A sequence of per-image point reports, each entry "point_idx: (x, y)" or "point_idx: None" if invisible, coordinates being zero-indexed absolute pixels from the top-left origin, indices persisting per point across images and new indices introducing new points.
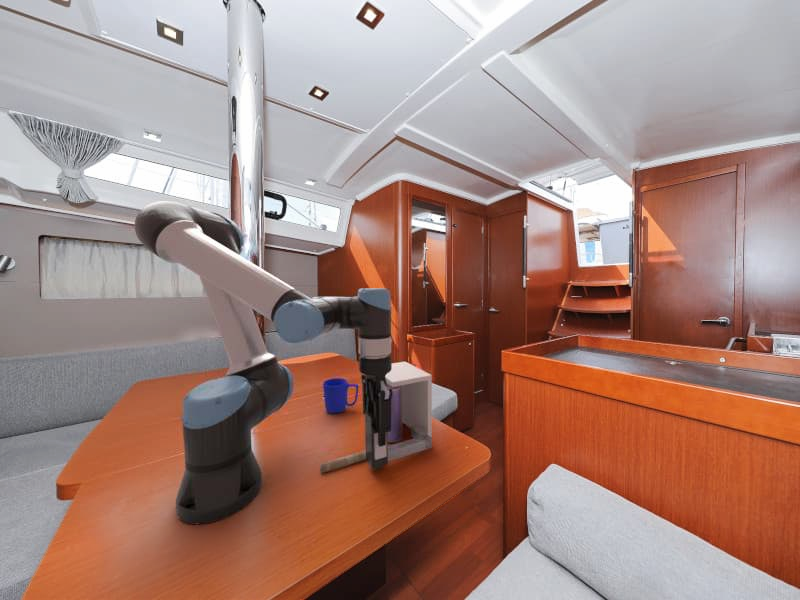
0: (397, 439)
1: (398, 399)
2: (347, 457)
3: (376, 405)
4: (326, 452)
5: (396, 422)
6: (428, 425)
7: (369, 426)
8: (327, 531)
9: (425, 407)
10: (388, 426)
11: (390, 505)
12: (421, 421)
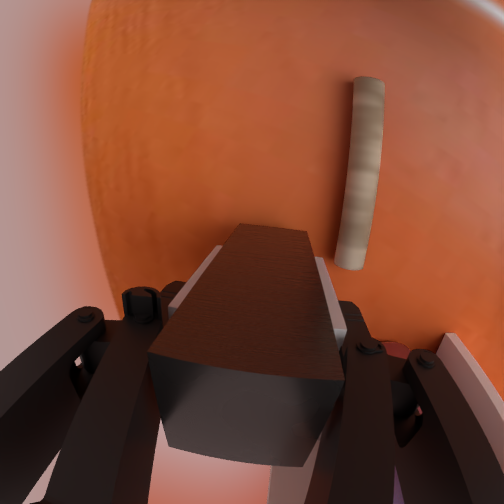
0: None
1: None
2: (362, 177)
3: (57, 474)
4: (450, 148)
5: None
6: None
7: (223, 307)
8: (129, 52)
9: (284, 501)
10: (71, 368)
11: (117, 210)
12: (311, 455)
